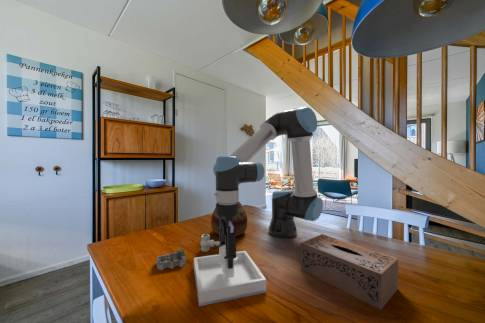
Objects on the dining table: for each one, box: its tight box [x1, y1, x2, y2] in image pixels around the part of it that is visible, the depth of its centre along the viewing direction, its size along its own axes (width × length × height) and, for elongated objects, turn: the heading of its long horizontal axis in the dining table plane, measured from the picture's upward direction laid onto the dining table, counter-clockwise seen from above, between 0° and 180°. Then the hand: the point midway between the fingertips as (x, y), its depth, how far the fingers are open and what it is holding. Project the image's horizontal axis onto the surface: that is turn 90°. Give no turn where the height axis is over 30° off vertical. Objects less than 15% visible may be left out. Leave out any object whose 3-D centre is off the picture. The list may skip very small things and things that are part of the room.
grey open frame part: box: [156, 248, 187, 271], centre depth 78 cm, size 11×8×4 cm
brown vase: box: [210, 183, 248, 237], centre depth 111 cm, size 20×20×30 cm
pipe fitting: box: [217, 245, 238, 274], centre depth 68 cm, size 6×7×8 cm
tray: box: [193, 250, 267, 307], centre depth 68 cm, size 20×20×4 cm
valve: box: [200, 233, 220, 253], centre depth 90 cm, size 7×7×12 cm
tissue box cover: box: [300, 233, 399, 311], centre depth 70 cm, size 26×14×10 cm, turn 38°
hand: (226, 270), depth 69 cm, fingers closed on pipe fitting, 7 cm apart
